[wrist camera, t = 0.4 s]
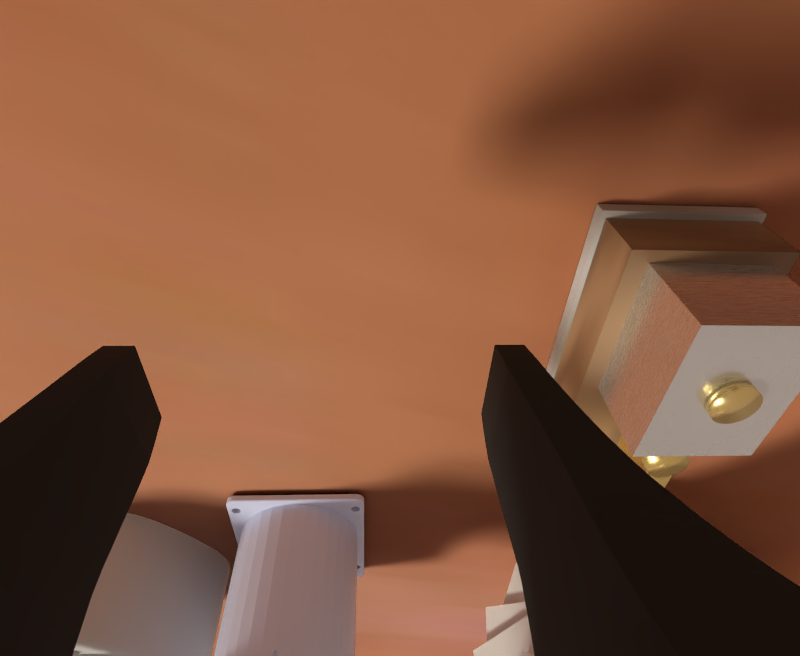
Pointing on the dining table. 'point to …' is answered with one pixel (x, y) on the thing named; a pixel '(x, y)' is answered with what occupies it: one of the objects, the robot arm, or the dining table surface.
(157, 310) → the dining table surface
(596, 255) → the tan flat board
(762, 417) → the white block with knob
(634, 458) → the lever
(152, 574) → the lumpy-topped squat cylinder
